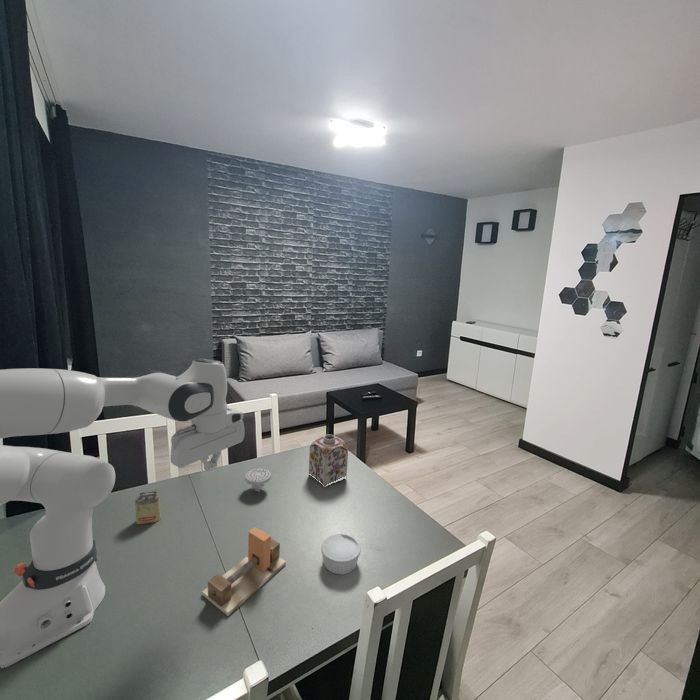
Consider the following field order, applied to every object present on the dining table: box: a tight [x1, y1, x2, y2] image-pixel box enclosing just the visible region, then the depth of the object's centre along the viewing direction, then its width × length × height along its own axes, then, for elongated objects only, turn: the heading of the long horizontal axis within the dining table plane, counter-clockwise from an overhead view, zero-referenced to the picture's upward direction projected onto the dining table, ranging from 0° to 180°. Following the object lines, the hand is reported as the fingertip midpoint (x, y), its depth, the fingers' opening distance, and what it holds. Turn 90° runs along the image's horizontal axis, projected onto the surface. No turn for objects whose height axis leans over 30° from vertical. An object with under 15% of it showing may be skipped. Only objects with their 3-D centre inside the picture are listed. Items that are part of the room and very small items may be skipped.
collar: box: [247, 526, 272, 572], centre depth 100 cm, size 2×6×10 cm, turn 57°
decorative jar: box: [308, 434, 349, 486], centre depth 147 cm, size 12×12×18 cm
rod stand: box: [201, 538, 287, 617], centre depth 97 cm, size 20×10×6 cm, turn 147°
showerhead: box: [244, 468, 272, 493], centre depth 136 cm, size 9×7×10 cm
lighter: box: [134, 489, 162, 525], centre depth 116 cm, size 7×4×10 cm, turn 109°
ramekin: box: [321, 533, 362, 575], centre depth 104 cm, size 11×11×5 cm
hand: (210, 468), depth 96 cm, fingers closed
